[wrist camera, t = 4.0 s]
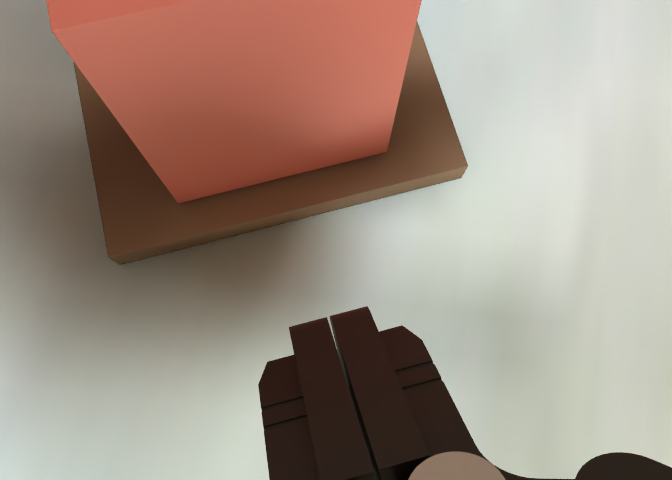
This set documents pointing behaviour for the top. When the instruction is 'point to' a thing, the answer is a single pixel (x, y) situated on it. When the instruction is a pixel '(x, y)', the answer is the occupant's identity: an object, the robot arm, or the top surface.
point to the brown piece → (272, 196)
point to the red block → (243, 81)
